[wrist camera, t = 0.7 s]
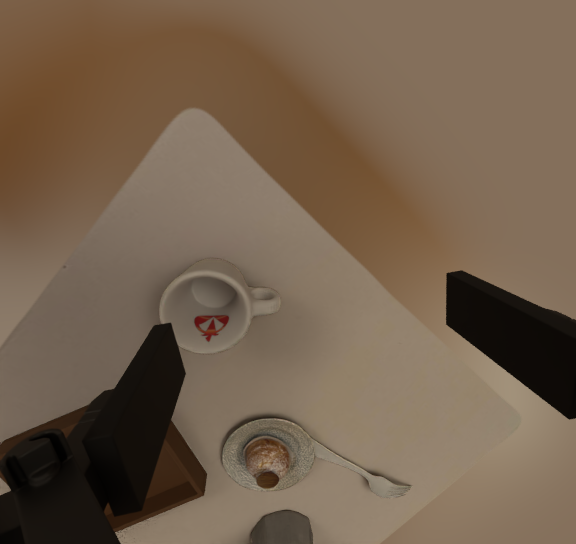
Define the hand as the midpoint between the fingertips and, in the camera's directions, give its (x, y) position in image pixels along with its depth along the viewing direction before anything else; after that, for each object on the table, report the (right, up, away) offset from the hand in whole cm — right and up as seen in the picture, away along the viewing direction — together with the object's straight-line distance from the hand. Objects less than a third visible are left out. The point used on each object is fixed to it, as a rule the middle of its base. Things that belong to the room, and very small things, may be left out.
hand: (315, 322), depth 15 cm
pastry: (-4, -21, +28) cm, 35 cm away
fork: (+8, -25, +31) cm, 40 cm away
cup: (-8, +1, +21) cm, 22 cm away
